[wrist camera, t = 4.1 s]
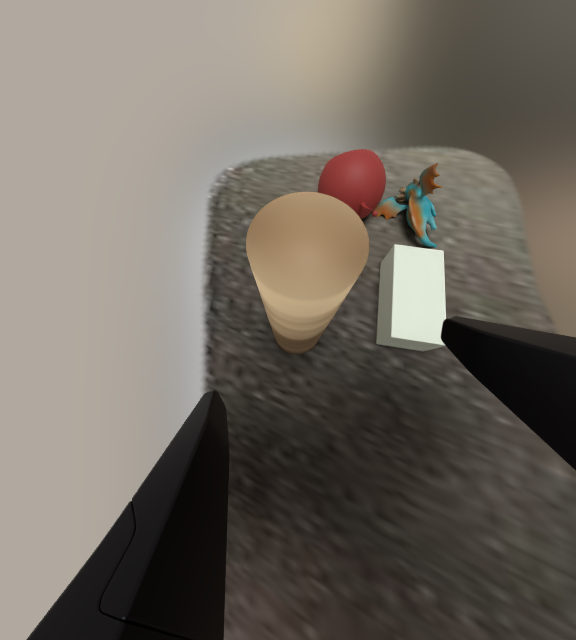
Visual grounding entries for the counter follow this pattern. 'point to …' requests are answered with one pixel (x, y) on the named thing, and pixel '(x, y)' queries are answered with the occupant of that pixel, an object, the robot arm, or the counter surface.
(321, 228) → the oak post
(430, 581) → the counter surface
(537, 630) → the counter surface
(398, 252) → the white block
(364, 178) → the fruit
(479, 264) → the counter surface
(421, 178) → the dragon figurine
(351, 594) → the counter surface
